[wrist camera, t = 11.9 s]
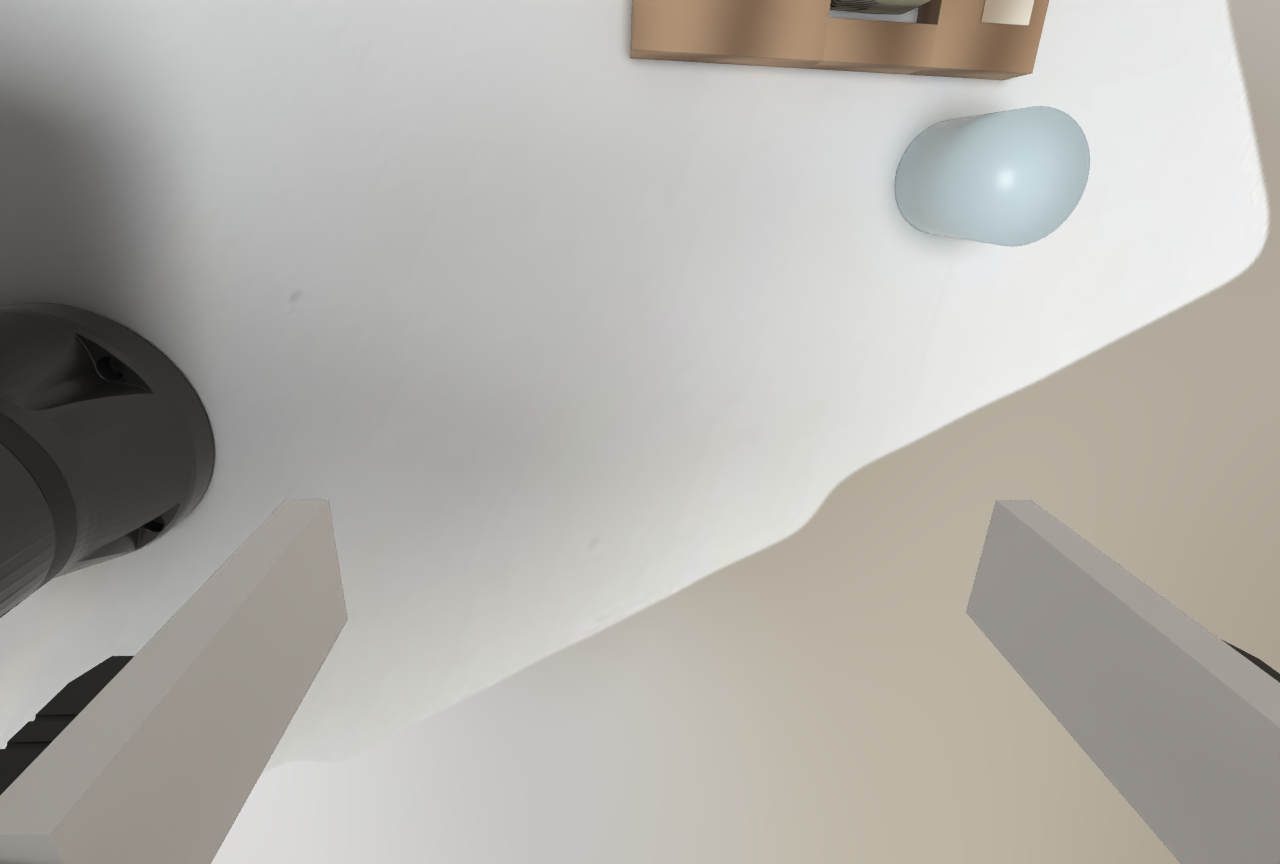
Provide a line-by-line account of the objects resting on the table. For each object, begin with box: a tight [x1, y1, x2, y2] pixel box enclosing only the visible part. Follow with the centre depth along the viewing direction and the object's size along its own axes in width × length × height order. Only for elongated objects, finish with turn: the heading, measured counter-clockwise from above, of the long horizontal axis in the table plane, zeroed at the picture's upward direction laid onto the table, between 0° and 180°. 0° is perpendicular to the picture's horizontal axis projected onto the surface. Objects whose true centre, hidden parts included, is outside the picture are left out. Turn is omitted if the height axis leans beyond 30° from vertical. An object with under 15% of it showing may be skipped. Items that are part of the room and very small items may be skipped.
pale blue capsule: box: [895, 106, 1090, 247], centre depth 33 cm, size 6×6×7 cm
